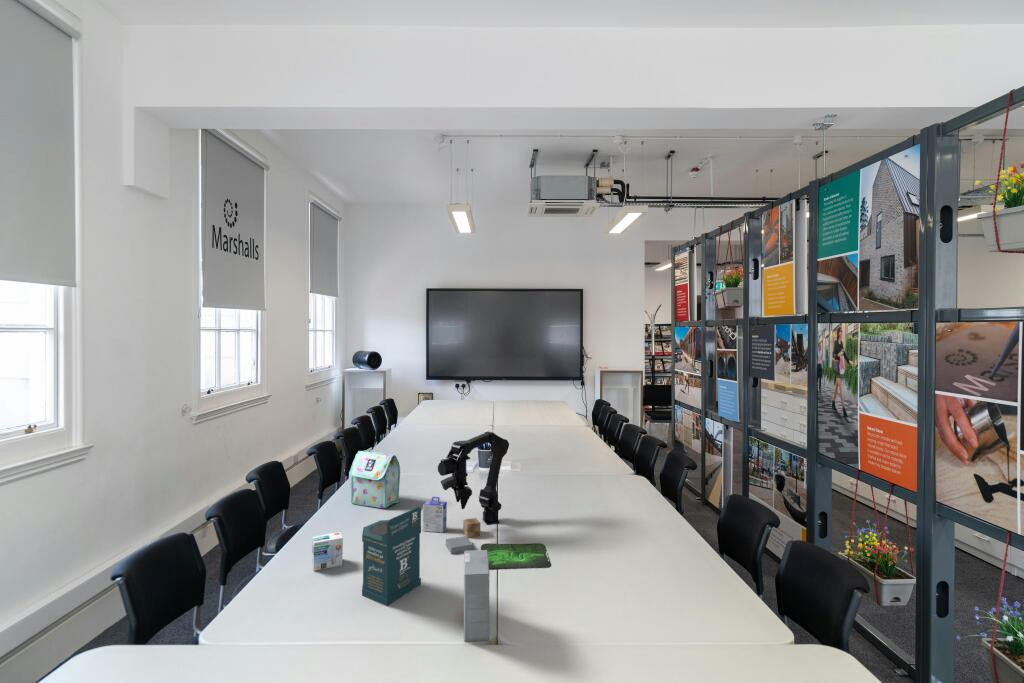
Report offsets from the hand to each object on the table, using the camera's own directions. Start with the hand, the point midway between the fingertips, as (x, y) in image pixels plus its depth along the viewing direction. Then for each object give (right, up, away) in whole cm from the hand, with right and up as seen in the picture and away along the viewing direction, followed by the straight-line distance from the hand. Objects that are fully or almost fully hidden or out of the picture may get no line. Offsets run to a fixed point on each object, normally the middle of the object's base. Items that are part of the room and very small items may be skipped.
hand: (460, 505), depth 218 cm
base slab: (+1, -13, -15) cm, 20 cm away
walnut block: (+5, -13, -1) cm, 14 cm away
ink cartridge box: (-12, -12, +4) cm, 18 cm away
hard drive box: (+12, -14, -69) cm, 71 cm away
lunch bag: (-48, -12, +37) cm, 62 cm away
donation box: (-20, -13, -47) cm, 53 cm away
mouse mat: (+24, -14, -22) cm, 35 cm away
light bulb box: (-48, -13, -30) cm, 58 cm away
